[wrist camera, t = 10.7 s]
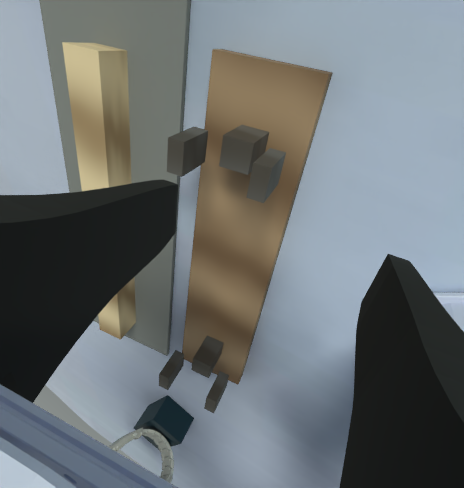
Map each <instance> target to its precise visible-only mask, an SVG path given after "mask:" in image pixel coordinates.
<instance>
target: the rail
mask: <svg viewBox="0 0 464 488" xmlns="http://www.w3.org/2000/svg"><path fill="white" fill-rule="evenodd" d="M62 45H63V52H64V60H65V67H66V75H67V83H68V90H69V98H70V105H71V113H72V120H73V128H74V136H75V143H76V151H77V158H78V166H79V173H80V181H81V188H82V191H88V190H94V189H101V188H108V187H114V186H120V185H126V184H131V154H130V123H129V93H128V62H127V50H123V49H118V48H114V47H110V46H105V45H101V44H97V43H74V42H62ZM98 317H99V325H100V330H102V331H104V332H106V333H108V334H110V335H112V336H114V337H117V338H119V339H122V337H123V336H124V335H125V334H126V333H127V332H128V331H129V330H130V329H131V327H132V326H133V325H134V324H135V323H136V308H135V277H134V278H133V279H132V280H131V281H129V282H128V283H127V284H126V285H125V286H124V287H123V288H122V289H121V290H120V291H119V292H118V293H117V294H116V295H115V296H114V297H113V298H112V299H111V300H110V301H109V303H108V304H107V305H106V306H105V307H104V308H103V310H102V311H101V312H100V313H99V314H98Z"/></svg>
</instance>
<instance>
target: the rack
mask: <svg viewBox="0 0 464 488" xmlns="http://www.w3.org/2000/svg"><path fill="white" fill-rule="evenodd" d="M331 76H332V73H331V72H327V71H322V70H317V69H313V68H308V67H303V66H298V65H294V64H289V63H284V62H280V61H275V60H270V59H266V58H261V57H256V56H251V55H247V54H242V53H237V52H233V51H228V50H223V49H213V51H212V61H211V71H210V81H209V91H208V101H207V111H206V121H205V130H204V129H200V128H197V127H192V128H189V129H187V130H185V131H182V132H180V133H177V134H175V135H173V136H170V137H168V150H167V172H169V173H172V174H175V175H178V176H181V177H182V176H184V175H185V174H187V173H188V172H190V171H192V170H193V169H195V168H196V167H198V166H199V165H201V170H200V180H199V190H198V200H197V210H196V220H195V230H194V240H193V250H192V260H191V270H190V280H189V290H188V300H187V310H186V320H185V329H184V339H183V349H182V353H181V352H179V351H175V352H174V353H173V355H172V356H171V358H170V359H169V361H168V362H167V364H166V365H165V367H164V368H163V370H162V371H161V372H160V374H159V386H161V387H163V388H165V389H167V390H168V389H169V387H170V386H171V384H172V383H173V381H174V379H175V378H176V376H177V375H178V373H179V371H180V370H181V368H182V367H183V362H184V359H185V360H187V361H189V362H191V363H192V370H193V371H195V372H197V373H199V374H201V375H203V376H205V377H208V378H209V376H210V375H211V373H215V374H217V375H218V376H217V378H216V380H215V382H214V384H213V386H212V388H211V390H210V392H209V394H208V396H207V398H206V403H205V408H204V409H206V410H208V411H210V412H212V413H214V412H215V410H216V408H217V405H218V403H219V401H220V399H221V397H222V395H223V393H224V390H225V388H226V386H227V382H228V380H229V381H231V382H234V383H236V384H239V382H240V379H241V377H242V375H243V371H244V368H245V365H246V361H247V358H248V355H249V351H250V348H251V345H252V341H253V338H254V334H255V331H256V328H257V324H258V321H259V318H260V314H261V311H262V308H263V304H264V301H265V298H266V294H267V291H268V288H269V284H270V281H271V277H272V274H273V271H274V267H275V264H276V261H277V257H278V254H279V251H280V247H281V244H282V241H283V237H284V234H285V230H286V227H287V224H288V220H289V217H290V214H291V210H292V207H293V204H294V200H295V197H296V194H297V190H298V187H299V183H300V180H301V177H302V173H303V170H304V167H305V163H306V160H307V157H308V153H309V150H310V147H311V143H312V140H313V137H314V133H315V130H316V126H317V123H318V120H319V116H320V113H321V110H322V106H323V103H324V100H325V96H326V93H327V90H328V86H329V83H330V79H331Z"/></svg>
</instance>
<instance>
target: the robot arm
mask: <svg viewBox="0 0 464 488" xmlns="http://www.w3.org/2000/svg"><path fill="white" fill-rule="evenodd" d="M177 201H178V184H176V183H173V182H170V181H167V180H150V181H143V182H137V183H131V184H126V185H120V186H114V187H108V188H101V189H94V190H88V191H81V192H72V193H62V194H47V195H0V488H178V487H176V486H174V485H172V484H171V483H169V482H167V481H166V480H164V479H162V478H160V477H159V476H157V475H155V474H154V473H152V472H150V471H148V470H147V469H145V468H143V467H142V466H140V465H138V464H136V463H135V462H133V461H131V460H130V459H128V458H126V457H124V456H122V455H121V454H119V453H117V452H116V451H114V450H112V449H111V448H109V447H107V446H105V445H104V444H102V443H100V442H99V441H97V440H95V439H93V438H92V437H90V436H88V435H86V434H85V433H83V432H81V431H80V430H78V429H76V428H74V427H73V426H71V425H69V424H67V423H66V422H64V421H63V420H60V419H59V418H57V417H56V416H54V415H52V414H50V413H49V412H47V411H45V410H44V409H42V408H40V407H38V406H36V405H35V404H33V402H34V400H35V399H36V397H37V396H38V394H39V393H40V391H41V390H42V388H43V387H44V386H45V384H46V383H47V381H48V380H49V378H50V377H51V376H52V374H53V373H54V371H55V370H56V368H57V367H58V366H59V364H60V363H61V362H62V360H63V359H64V358H65V356H66V355H67V354H68V352H69V351H70V349H71V348H72V347H73V345H74V344H75V343H76V341H77V340H78V339H79V338H80V336H81V335H82V334H83V333H84V331H85V330H86V329H87V328H88V326H89V325H90V324H91V323H92V321H93V320H94V319H95V318H96V317H97V315H98V314H99V313H100V312H101V311H102V310H103V308H104V307H105V306H106V305H107V304H108V303H109V301H110V300H111V299H112V298H113V297H114V296H115V295H116V294H117V293H118V292H119V291H120V290H121V289H122V288H123V287H124V286H125V285H126V284H127V283H128V282H129V281H131V280H132V279H133V278H134V277H135V276H136V275H137V274H138V273H139V272H140V271H141V270H142V269H143V268H144V267H146V266H147V265H148V264H149V263H150V262H151V261H152V260H153V259H154V258H155V257H156V256H157V255H158V254H159V253H160V252H161V251H162V250H163V248H164V247H165V246H166V245H167V244H168V242H169V241H170V240H171V238H172V237H173V235H174V234H175V233H176V218H177ZM340 488H464V293H433V292H432V291H431V289H430V288H429V287H428V285H427V284H426V282H425V281H424V280H423V278H422V277H421V275H420V274H419V273H418V271H417V270H416V269H415V267H414V266H413V265H412V264H411V262H410V261H408V260H405V259H402V258H399V257H396V256H393V255H390V254H388V255H387V257H386V258H385V260H384V262H383V264H382V266H381V268H380V269H379V271H378V273H377V275H376V277H375V279H374V280H373V282H372V284H371V286H370V288H369V289H368V291H367V293H366V295H365V297H364V299H363V300H362V303H361V308H360V313H359V318H358V323H357V330H356V351H355V379H354V399H353V410H352V416H351V423H350V429H349V436H348V442H347V448H346V454H345V460H344V466H343V471H342V477H341V482H340Z"/></svg>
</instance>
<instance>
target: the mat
mask: <svg viewBox="0 0 464 488" xmlns="http://www.w3.org/2000/svg"><path fill="white" fill-rule="evenodd" d="M39 1H40V7H41V13H42V20H43V26H44V32H45V39H46V45H47V51H48V58H49V64H50V71H51V77H52V83H53V90H54V96H55V102H56V109H57V115H58V121H59V128H60V134H61V141H62V147H63V153H64V160H65V166H66V172H67V179H68V185H69V191H70V193H72V192H81V191H82V188H81V181H80V173H79V166H78V158H77V151H76V143H75V136H74V128H73V120H72V113H71V105H70V98H69V90H68V83H67V75H66V67H65V60H64V52H63V45H62V42H74V43H97V44H101V45H105V46H110V47H114V48H118V49H123V50H127V62H128V93H129V123H130V154H131V183H137V182H143V181H150V180H167V181H170V182H173V183H176V184H178V199H179V183H180V176H178V175H175V174H172V173H169V172H167V150H168V137H170V136H173V135H175V134H177V133H180V132H182V131H183V118H184V102H185V86H186V70H187V54H188V37H189V21H190V5H191V0H39ZM177 215H178V201H177ZM176 232H177V218H176ZM175 248H176V233H175V234H174V235H173V237H172V238H171V240H170V241H169V242H168V244H167V245H166V246H165V247H164V248H163V250H162V251H161V252H160V253H159V254H158V255H157V256H156V257H155V258H154V259H153V260H152V261H151V262H150V263H149V264H148V265H147V266H146V267H144V268H143V269H142V270H141V271H140V272H139V273H138V274H137V275H136V276H135V308H136V323H135V324H134V325H133V326H132V327H131V329H130V330H129V331H128V332H127V333H126V334H125V336H127V337H129V338H131V339H133V340H135V341H137V342H139V343H141V344H143V345H145V346H148V347H150V348H152V349H154V350H156V351H158V352H160V353H162V354H164V355H166V356H167V355H168V354H169V345H170V329H171V313H172V296H173V280H174V264H175ZM93 321H95V322H97V323H99V317H98V315H97V317H96V318H95V319H94V320H93Z"/></svg>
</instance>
